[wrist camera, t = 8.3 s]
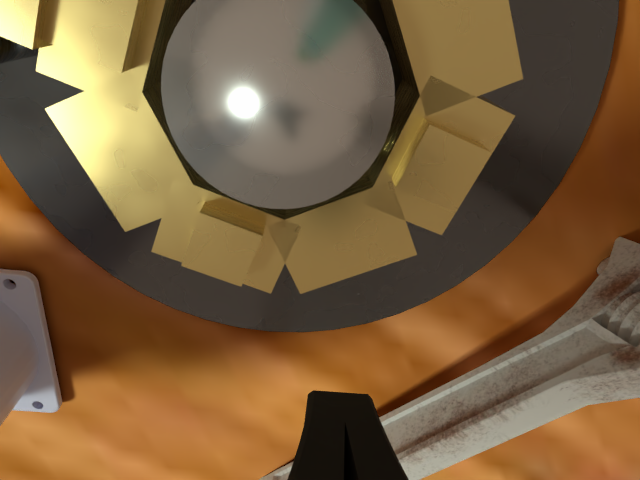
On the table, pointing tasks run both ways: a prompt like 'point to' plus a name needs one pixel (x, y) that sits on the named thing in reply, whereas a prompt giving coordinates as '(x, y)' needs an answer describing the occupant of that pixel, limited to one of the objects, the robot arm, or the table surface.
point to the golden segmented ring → (258, 222)
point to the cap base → (314, 146)
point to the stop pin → (14, 51)
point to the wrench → (529, 378)
